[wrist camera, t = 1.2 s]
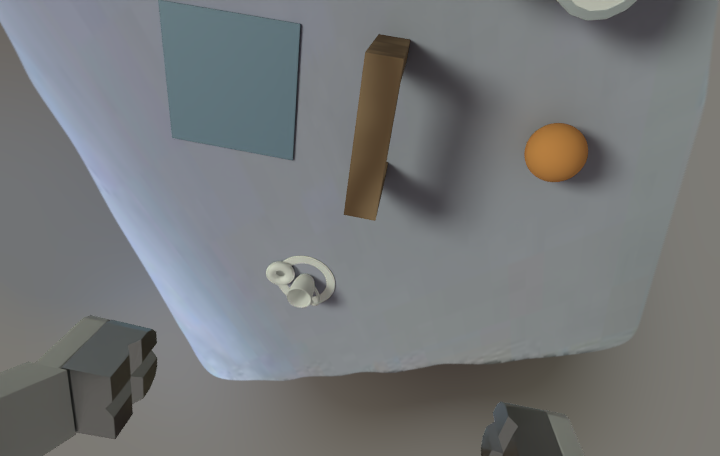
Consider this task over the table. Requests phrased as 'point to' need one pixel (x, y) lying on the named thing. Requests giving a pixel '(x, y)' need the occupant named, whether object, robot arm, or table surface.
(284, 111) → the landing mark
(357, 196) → the bridge
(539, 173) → the ball
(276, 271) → the mug and donut ornament
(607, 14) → the white cylinder
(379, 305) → the table surface
